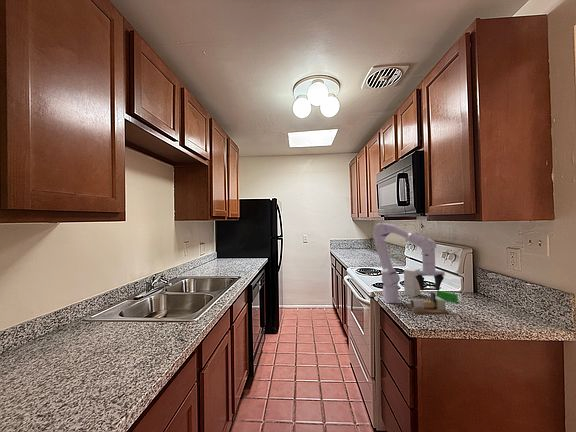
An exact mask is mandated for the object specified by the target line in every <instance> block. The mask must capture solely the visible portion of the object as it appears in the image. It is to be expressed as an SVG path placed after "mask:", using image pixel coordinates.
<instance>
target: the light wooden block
mask: <svg viewBox="0 0 576 432" xmlns="http://www.w3.org/2000/svg"><path fill="white" fill-rule="evenodd" d="M429 297H430V300H423V301H424V307H437V302H436V300H435V297H436V293H435V292H434V291H430V295H429Z"/></svg>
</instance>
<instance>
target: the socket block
mask: <svg viewBox="0 0 576 432" xmlns="http://www.w3.org/2000/svg"><path fill="white" fill-rule="evenodd" d="M435 300H436V302H437V310H446V301H445V300H443V299H442V298H440V297H437V296H435Z"/></svg>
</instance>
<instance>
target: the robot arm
mask: <svg viewBox="0 0 576 432" xmlns="http://www.w3.org/2000/svg"><path fill="white" fill-rule="evenodd" d="M373 232H374V234H373V242H374V244H375V248H376V251H377V254H378V258H379V260H380V264H381V268H382V271H381V282H382V284H383V286H382V297H381V300H382V301H384V302H385V303H386V304H401V303H402V301H400V300H399V282H400V281H401V280H400V279H401V278H400V275H399V273H398V272H397V269H396V268H394V266H393V264H392V261H391V257H390V254H389V251H388V248H387V245H386V242H385V240H386V238H387V237H388V236H389V235H390V234H396V235H398V236H400V237H403V238H405V239H407V242H408V243H411V244H413V245H414V246H416V247H419V248H420V250H422V253H421V254H422V255H421V256H422V270H420V271H417V272H414V276H415V277H416V279H417V281H418V283H419V286H420V291H424V290H425V289H424V288H425V287H424V282H425V278H424V276H426V277H427V276H428V277H429V276H430V277H431V276H433V277H434V284H435V285H434V288H435V290H436V291H440V287H441V284H442V282H443V281H444V278H445V277H444V276H446V273H445V272H446V271H443V270H439V271H438V270H436V248H437V242H436V241H435V240H434V239H433V238H428V237H427V236H423V235H421V234H420V233H419V232H417V231H416V232H415V231H414V232H413V231H412V232H409V231H407V230H405V229H403V228H401V227H398V226H397V225H395V224H393V223H390V222H384V223H382V222H379V223H376V225H375V227H373Z"/></svg>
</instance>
